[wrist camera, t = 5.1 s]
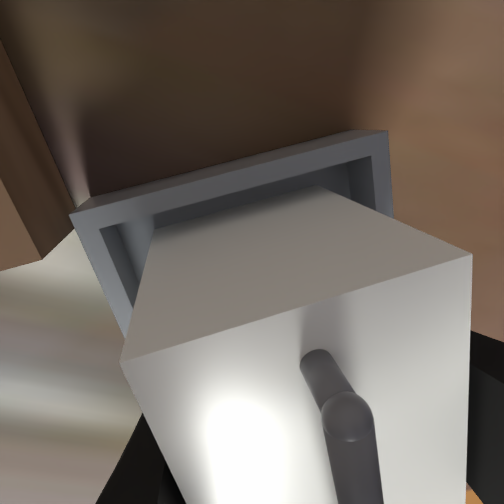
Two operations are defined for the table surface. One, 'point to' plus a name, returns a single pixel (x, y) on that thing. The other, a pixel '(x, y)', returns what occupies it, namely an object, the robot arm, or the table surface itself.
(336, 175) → the slate drawer housing
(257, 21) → the table surface
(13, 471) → the table surface
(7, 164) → the walnut bay
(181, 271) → the white drawer with handle
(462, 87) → the table surface
